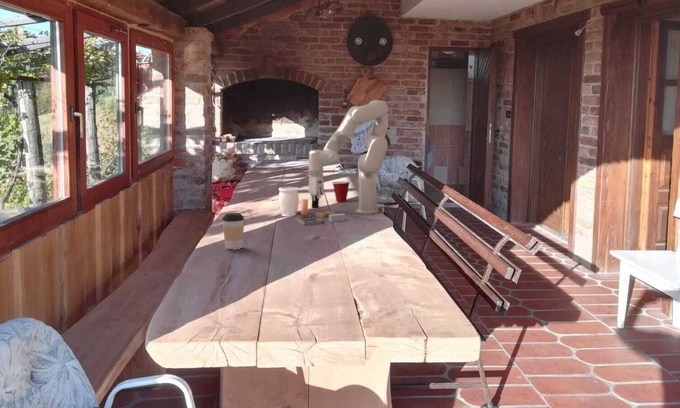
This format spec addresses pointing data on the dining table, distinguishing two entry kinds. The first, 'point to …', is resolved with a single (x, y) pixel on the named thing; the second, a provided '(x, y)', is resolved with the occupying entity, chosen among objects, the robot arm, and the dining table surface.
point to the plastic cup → (341, 190)
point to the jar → (288, 200)
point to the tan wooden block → (324, 214)
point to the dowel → (304, 207)
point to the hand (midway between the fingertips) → (315, 207)
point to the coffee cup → (233, 230)
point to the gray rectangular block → (337, 217)
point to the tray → (310, 221)
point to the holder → (304, 216)
